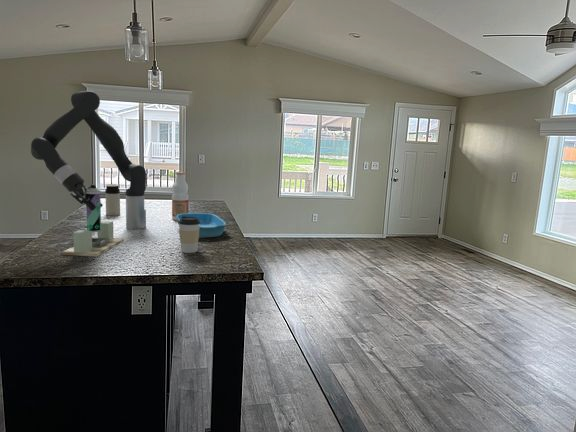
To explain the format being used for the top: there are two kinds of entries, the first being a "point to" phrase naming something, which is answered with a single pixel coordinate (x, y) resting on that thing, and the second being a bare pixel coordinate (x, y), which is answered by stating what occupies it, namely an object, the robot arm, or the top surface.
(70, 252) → the wooden board
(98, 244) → the metal collar
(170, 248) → the top surface
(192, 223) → the coffee cup
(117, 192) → the travel mug
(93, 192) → the spray can
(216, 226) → the casserole dish
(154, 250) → the top surface
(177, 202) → the fruit juice
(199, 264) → the top surface
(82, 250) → the sage pillars
